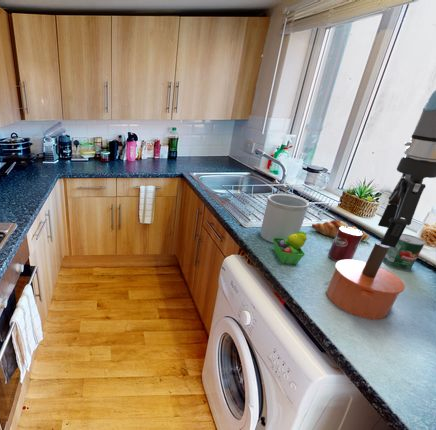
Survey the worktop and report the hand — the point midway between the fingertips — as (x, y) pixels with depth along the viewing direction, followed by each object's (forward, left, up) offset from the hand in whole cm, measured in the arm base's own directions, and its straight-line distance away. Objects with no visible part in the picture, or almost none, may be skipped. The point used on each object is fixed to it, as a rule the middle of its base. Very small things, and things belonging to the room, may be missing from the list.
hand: (385, 235), depth 78 cm
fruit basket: (+21, -14, -23) cm, 34 cm away
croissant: (+6, -48, -23) cm, 53 cm away
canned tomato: (-12, -35, -23) cm, 44 cm away
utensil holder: (+27, -29, -23) cm, 46 cm away
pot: (0, 0, -23) cm, 23 cm away
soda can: (+5, -26, -23) cm, 35 cm away
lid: (0, 0, -13) cm, 13 cm away
